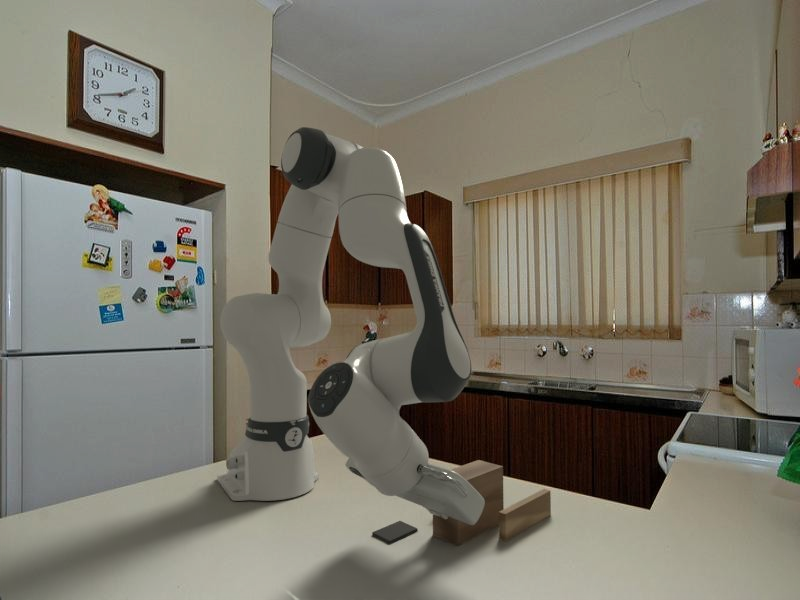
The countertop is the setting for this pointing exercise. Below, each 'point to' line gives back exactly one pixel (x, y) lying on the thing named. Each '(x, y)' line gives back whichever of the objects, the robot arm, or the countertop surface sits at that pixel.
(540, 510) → the channel
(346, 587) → the countertop surface
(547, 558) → the countertop surface
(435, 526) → the walnut block
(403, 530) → the mat
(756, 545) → the countertop surface
